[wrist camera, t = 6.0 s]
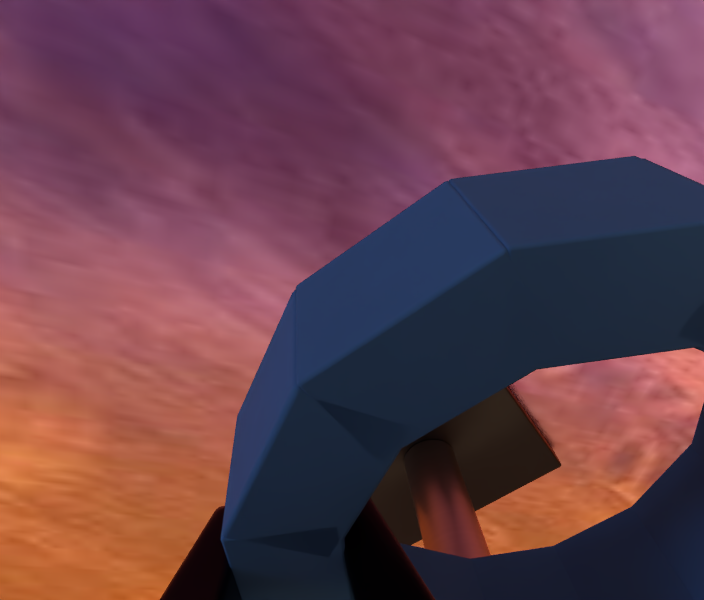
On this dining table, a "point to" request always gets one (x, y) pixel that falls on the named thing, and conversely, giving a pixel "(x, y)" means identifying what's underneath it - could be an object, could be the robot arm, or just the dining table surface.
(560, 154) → the dining table surface
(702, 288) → the blue ring
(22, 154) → the dining table surface
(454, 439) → the peg stand
